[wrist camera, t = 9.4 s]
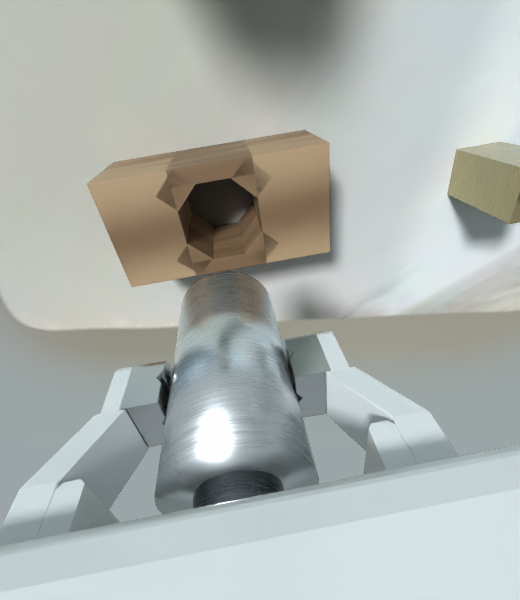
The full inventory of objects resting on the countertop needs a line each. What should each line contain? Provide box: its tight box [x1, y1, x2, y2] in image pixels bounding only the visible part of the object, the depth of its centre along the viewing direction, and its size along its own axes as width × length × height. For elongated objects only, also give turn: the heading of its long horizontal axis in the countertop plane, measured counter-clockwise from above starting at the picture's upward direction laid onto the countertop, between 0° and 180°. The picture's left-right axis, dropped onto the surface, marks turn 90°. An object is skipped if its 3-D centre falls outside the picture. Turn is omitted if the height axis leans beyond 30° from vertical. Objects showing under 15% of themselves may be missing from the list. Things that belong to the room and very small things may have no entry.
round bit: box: [155, 272, 319, 514], centre depth 9 cm, size 4×4×9 cm
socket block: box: [87, 130, 330, 287], centre depth 23 cm, size 7×14×6 cm, turn 98°
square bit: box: [447, 142, 520, 224], centre depth 23 cm, size 4×4×9 cm
